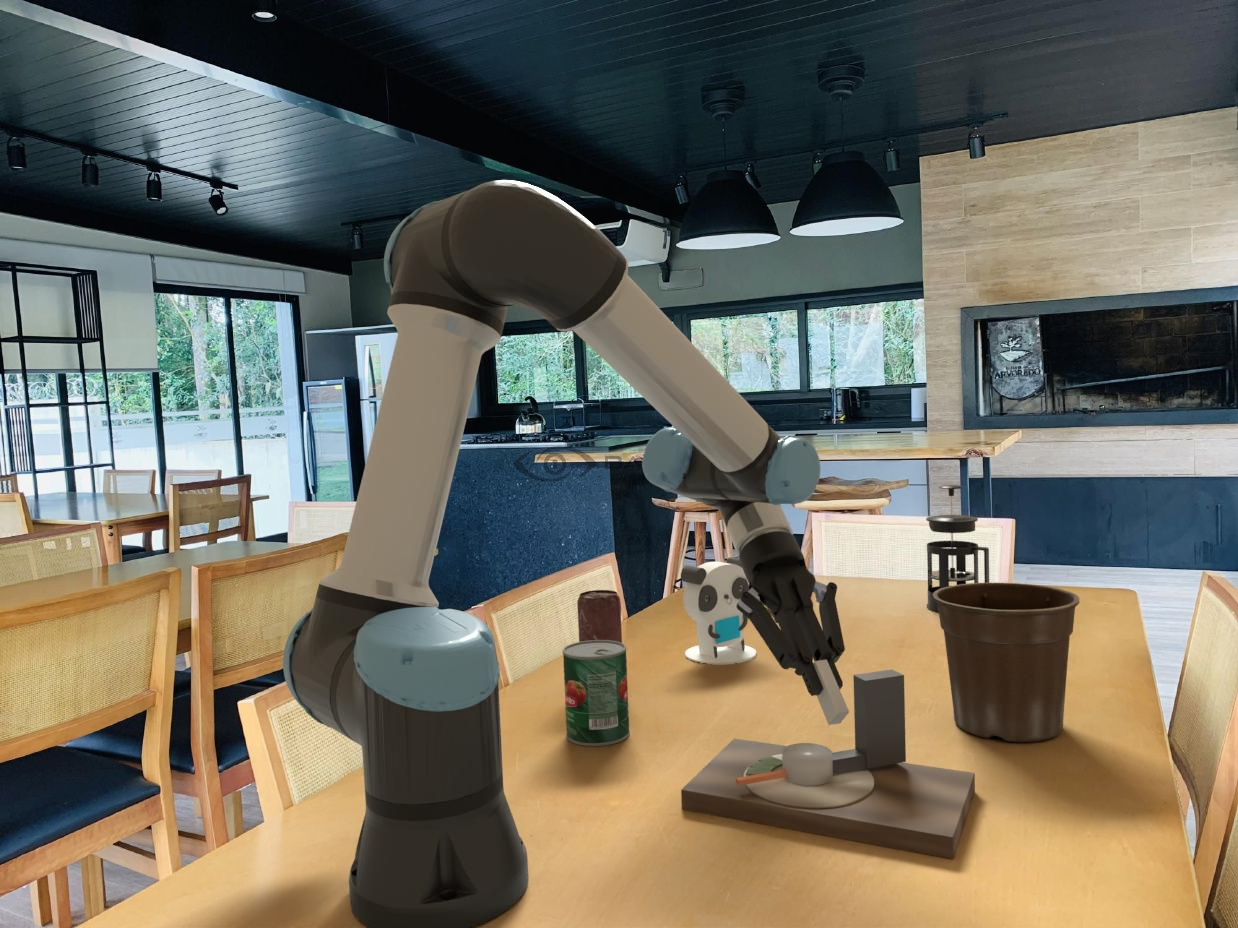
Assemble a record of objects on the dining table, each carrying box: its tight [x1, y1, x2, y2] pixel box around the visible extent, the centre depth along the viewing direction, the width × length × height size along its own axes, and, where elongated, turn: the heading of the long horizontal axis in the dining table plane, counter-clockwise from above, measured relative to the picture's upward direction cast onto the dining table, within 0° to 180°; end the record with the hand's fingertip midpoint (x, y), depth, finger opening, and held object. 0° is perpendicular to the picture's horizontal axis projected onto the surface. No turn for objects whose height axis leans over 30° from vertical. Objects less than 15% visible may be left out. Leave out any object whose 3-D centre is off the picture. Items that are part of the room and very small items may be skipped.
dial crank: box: [736, 668, 907, 786], centre depth 94 cm, size 19×5×9 cm, turn 107°
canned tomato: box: [562, 640, 631, 747], centre depth 115 cm, size 8×8×11 cm
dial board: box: [680, 738, 976, 860], centre depth 94 cm, size 15×26×2 cm, turn 62°
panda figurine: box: [680, 556, 757, 666], centre depth 148 cm, size 12×11×15 cm
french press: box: [925, 484, 990, 613], centre depth 171 cm, size 12×9×23 cm
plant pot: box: [933, 582, 1080, 743], centre depth 112 cm, size 16×16×16 cm
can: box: [576, 589, 623, 643], centre depth 132 cm, size 6×6×14 cm
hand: (838, 718), depth 102 cm, fingers closed
